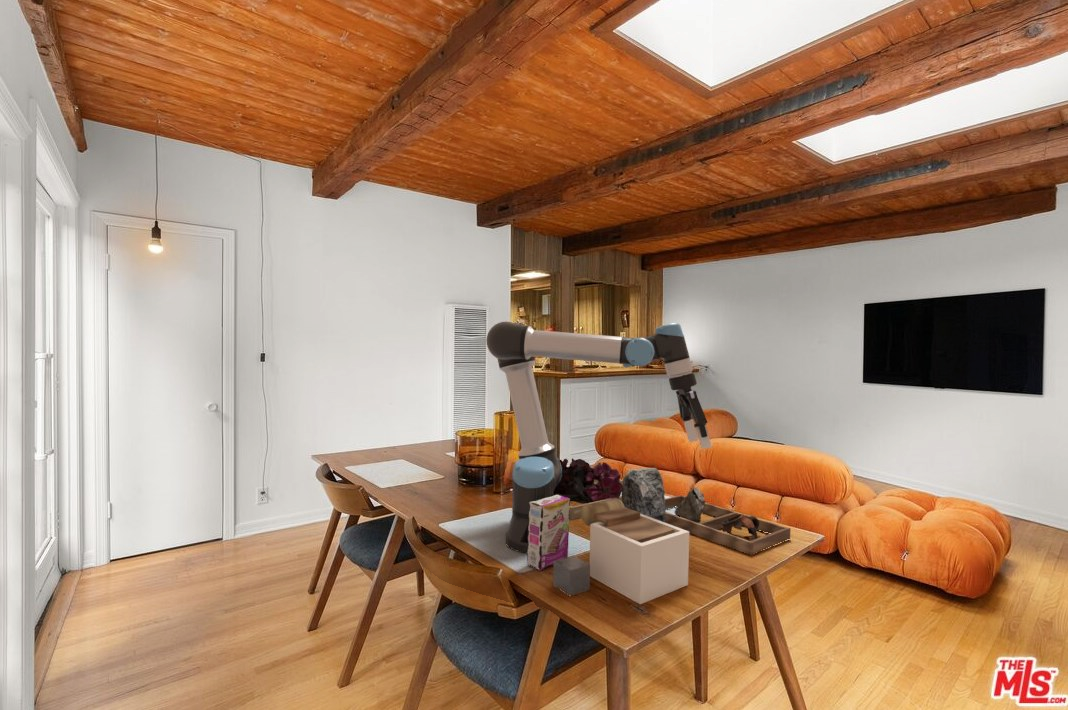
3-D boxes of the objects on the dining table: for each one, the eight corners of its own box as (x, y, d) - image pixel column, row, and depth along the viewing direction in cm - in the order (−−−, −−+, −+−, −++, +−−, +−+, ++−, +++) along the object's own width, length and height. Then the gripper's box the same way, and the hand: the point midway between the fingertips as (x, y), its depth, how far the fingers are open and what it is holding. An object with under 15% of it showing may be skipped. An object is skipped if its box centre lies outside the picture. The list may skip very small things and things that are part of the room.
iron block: (553, 586, 118) (553, 561, 118) (572, 579, 121) (573, 555, 121) (569, 597, 113) (570, 570, 113) (589, 589, 117) (590, 564, 116)
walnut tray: (640, 514, 170) (641, 504, 170) (680, 504, 183) (680, 495, 183) (751, 555, 138) (751, 543, 138) (790, 540, 150) (790, 528, 150)
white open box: (589, 575, 124) (590, 524, 123) (635, 560, 133) (637, 512, 133) (640, 604, 110) (641, 546, 110) (688, 584, 120) (689, 531, 120)
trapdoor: (577, 523, 130) (578, 503, 130) (613, 514, 138) (614, 496, 137) (636, 549, 114) (637, 527, 113) (673, 537, 121) (674, 517, 121)
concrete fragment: (681, 509, 178) (682, 478, 178) (714, 528, 159) (715, 493, 159) (666, 510, 176) (667, 478, 176) (697, 529, 158) (698, 494, 157)
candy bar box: (540, 572, 125) (542, 506, 125) (526, 565, 129) (527, 501, 128) (569, 559, 133) (570, 497, 133) (555, 553, 137) (556, 493, 136)
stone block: (638, 546, 143) (640, 476, 143) (614, 536, 150) (615, 470, 150) (674, 531, 155) (676, 467, 155) (650, 523, 162) (652, 462, 162)
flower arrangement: (538, 495, 190) (539, 455, 190) (570, 485, 205) (571, 448, 205) (608, 514, 169) (609, 470, 169) (638, 502, 184) (639, 461, 184)
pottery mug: (748, 549, 144) (733, 522, 146) (726, 552, 152) (712, 526, 154) (773, 532, 150) (759, 505, 152) (750, 535, 157) (737, 510, 160)
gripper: (705, 371, 136) (726, 447, 135) (682, 371, 161) (700, 435, 160) (678, 378, 136) (699, 454, 135) (659, 377, 161) (677, 441, 160)
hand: (700, 444), depth 148 cm, fingers open, 13 cm apart
